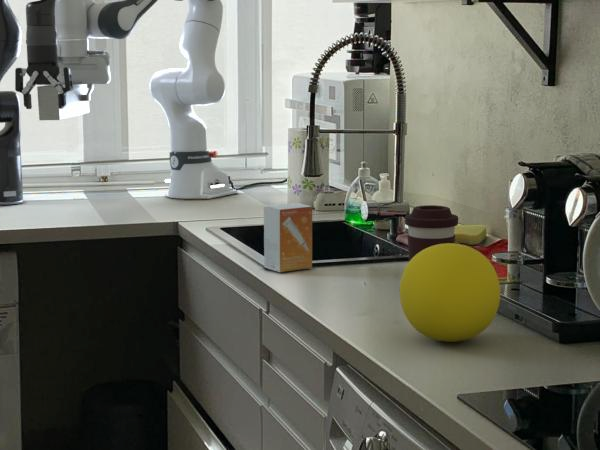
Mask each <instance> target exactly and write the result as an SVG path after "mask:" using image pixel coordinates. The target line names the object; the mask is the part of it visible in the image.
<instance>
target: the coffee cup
mask: <svg viewBox="0 0 600 450" xmlns="http://www.w3.org/2000/svg"><path fill="white" fill-rule="evenodd" d="M404 225H406V226H407V227H408V228H407V230H408V233H407V251H408V253H407V254H408V262H409V261H410V260H411V259H412V258H413V257H414V256H415V255H416V254H418V253H419V252H420V251H422V250H424V249H426V248H428V247H431V246H434V245H438V244H445V243H454V244H456V243H455V242H456V235H455V229H456V228H455V227H456V226H458V225H459V216H458V215H456V214H453V213H452V211H451V208H450V207H448V206H444V205H437V204H436V205H434V204H433V205H431V204H429V205H426V204H425V205H418V206H414V207H413V208H412V210H411V213H408V214H406V215H405V216H404Z"/></svg>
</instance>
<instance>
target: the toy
mask: <svg viewBox="0 0 600 450" xmlns="http://www.w3.org/2000/svg"><path fill="white" fill-rule="evenodd" d="M399 300H400V305H401V309H402V311H403V314H404V316H405V318H406V319H407V321H408V322H409V324H410V325H411V326H412V327H413V328H414V330H415V331H417V332H418V333H419V334H421V335H423V336H424V337H427V338H429V339H432V340H435V341H439V342H445V343H455V342H462V341H466V340H469V339H472V338H474V337H476V336H478V335H480V334H481V333H483V332H484V331H485V330H486V329H487V328H489V326H490V325H491V324H492V322H493V320H494V319H495V317H496V315H497V312H498V309H499V306H500V302H501V285H500V280H499V276H498V273H497V271H496V269H495V268H494V265H493V264H492V263H491V261H490V260H489V259H488V257H486V256H485V255H484V254H483V253H481V252H480V251H479V250H477V249H475V248H473V247H471V246H468V245H465V244H461V243H455V244H454V243H445V244H438V245H434V246H431V247H428V248H426V249H424V250H422V251H420V252H419V253H418V254H416V255H415V256H414V257H413V258H412V259H411V260H410V261H409V260H408V262H407V264H406V265H405V268H404V270H403V272H402V275H401V278H400V283H399Z"/></svg>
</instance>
